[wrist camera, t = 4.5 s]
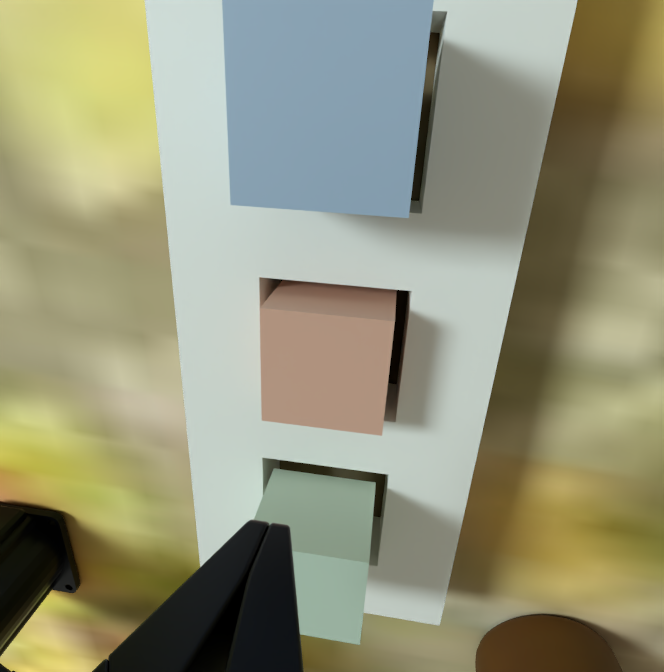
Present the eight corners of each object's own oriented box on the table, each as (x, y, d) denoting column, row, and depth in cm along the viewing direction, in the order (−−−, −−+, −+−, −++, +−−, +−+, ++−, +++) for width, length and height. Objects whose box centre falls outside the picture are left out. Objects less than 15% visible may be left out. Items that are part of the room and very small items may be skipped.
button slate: (407, 196, 15) (408, 217, 11) (272, 187, 15) (230, 205, 11) (426, 32, 13) (434, -6, 9) (271, 27, 13) (221, -11, 10)
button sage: (367, 557, 21) (359, 644, 18) (274, 542, 22) (247, 624, 18) (376, 482, 19) (369, 563, 16) (273, 468, 20) (244, 543, 16)
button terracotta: (386, 380, 20) (382, 436, 16) (286, 369, 20) (261, 420, 17) (396, 283, 18) (395, 321, 15) (287, 273, 19) (259, 308, 15)
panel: (435, 571, 25) (439, 625, 22) (223, 538, 26) (202, 585, 24) (570, -98, 14) (612, -155, 11) (180, -97, 15) (130, -147, 12)
